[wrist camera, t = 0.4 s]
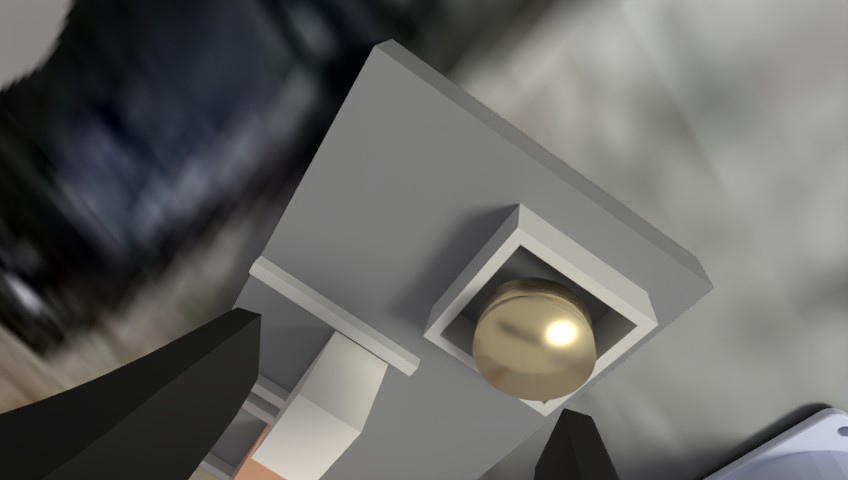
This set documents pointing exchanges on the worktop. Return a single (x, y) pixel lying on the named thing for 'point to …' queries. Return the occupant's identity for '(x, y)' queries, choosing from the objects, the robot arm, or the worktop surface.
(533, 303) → the brass button
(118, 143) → the worktop surface
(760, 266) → the worktop surface
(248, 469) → the salmon orange block
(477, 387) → the switch panel
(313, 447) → the ivory rectangular block
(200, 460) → the robot arm
